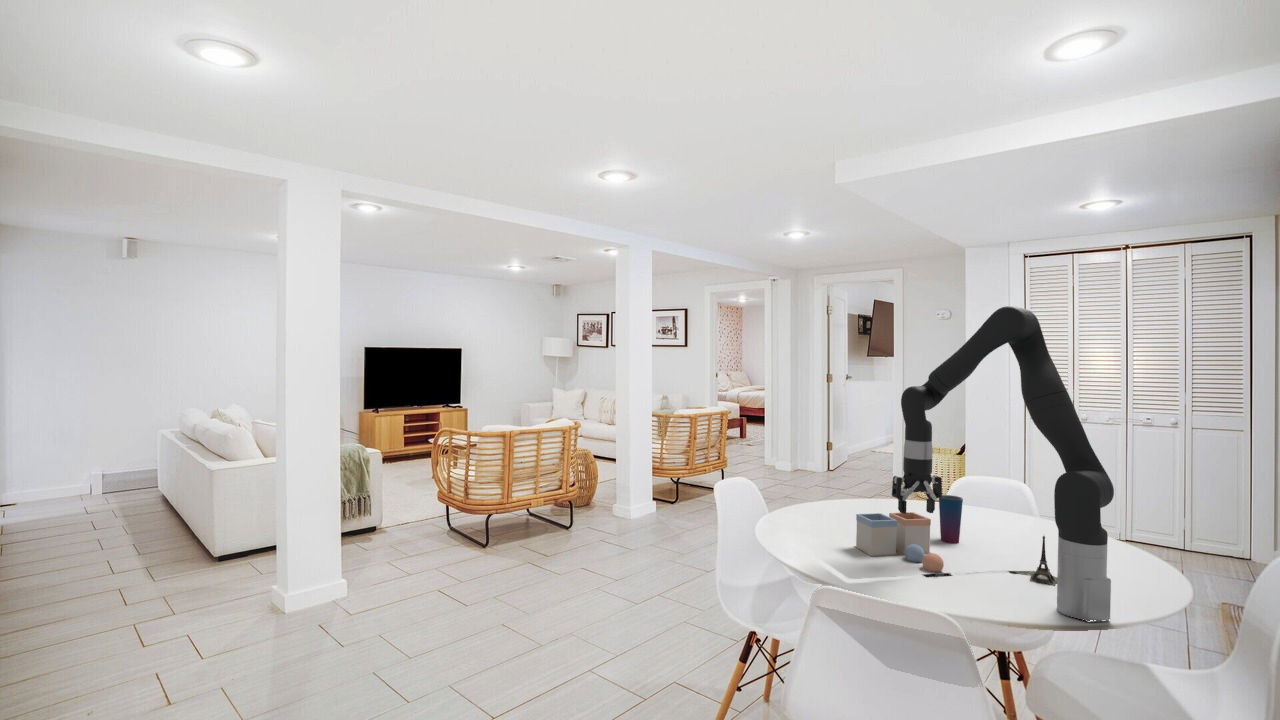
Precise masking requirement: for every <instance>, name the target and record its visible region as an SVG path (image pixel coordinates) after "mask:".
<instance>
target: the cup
mask: <svg viewBox="0 0 1280 720" xmlns="http://www.w3.org/2000/svg"><path fill="white" fill-rule="evenodd" d="M963 499H964V498H963V497H961V496H957V495H950V494H942V497H941V498H938V508H939V509H938V510H939V526H940V527H939V530H940V541H941V542H943V543H946V544H959V543H960V537H961V535H960V534H961V524H962V523H961V522H962V513H963V501H964V500H963Z"/></svg>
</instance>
